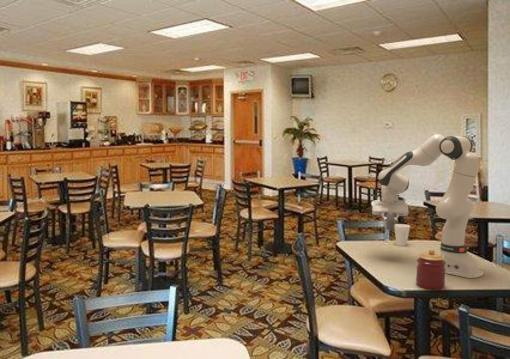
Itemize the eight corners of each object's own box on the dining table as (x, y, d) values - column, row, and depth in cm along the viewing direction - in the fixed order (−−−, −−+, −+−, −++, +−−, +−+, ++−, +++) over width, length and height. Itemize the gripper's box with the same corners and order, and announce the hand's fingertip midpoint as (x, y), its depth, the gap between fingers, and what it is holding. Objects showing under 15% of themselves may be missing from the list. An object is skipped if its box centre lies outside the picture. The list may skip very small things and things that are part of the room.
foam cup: (390, 244, 287) (391, 225, 285) (399, 242, 292) (400, 223, 291) (403, 247, 279) (404, 227, 278) (411, 245, 285) (412, 225, 283)
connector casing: (394, 230, 245) (395, 210, 244) (386, 229, 246) (387, 210, 244) (393, 227, 251) (394, 208, 250) (385, 227, 252) (386, 208, 251)
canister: (409, 282, 213) (411, 247, 211) (430, 279, 217) (432, 245, 216) (429, 291, 201) (430, 254, 199) (450, 288, 205) (452, 251, 204)
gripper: (371, 197, 256) (371, 216, 247) (408, 198, 251) (409, 218, 243) (370, 203, 260) (371, 222, 252) (406, 204, 256) (408, 224, 248)
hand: (390, 220), depth 247 cm, fingers closed on connector casing, 4 cm apart
